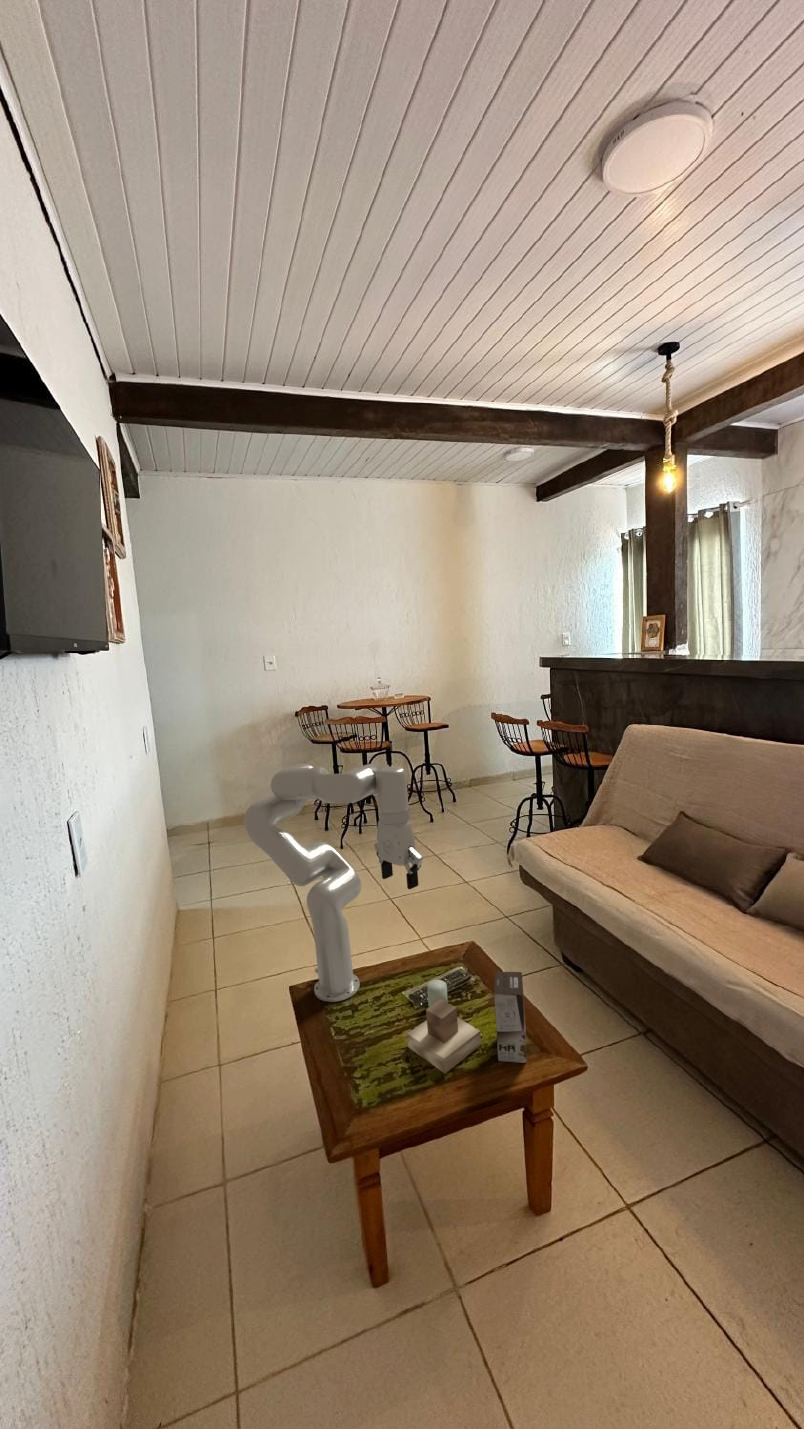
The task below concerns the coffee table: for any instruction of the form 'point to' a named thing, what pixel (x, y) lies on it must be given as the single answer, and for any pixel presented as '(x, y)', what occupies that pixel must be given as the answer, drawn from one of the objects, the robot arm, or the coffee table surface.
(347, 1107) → the coffee table surface
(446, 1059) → the birch base
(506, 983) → the coffee box
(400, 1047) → the coffee table surface
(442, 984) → the sage cylinder
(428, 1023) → the walnut block
